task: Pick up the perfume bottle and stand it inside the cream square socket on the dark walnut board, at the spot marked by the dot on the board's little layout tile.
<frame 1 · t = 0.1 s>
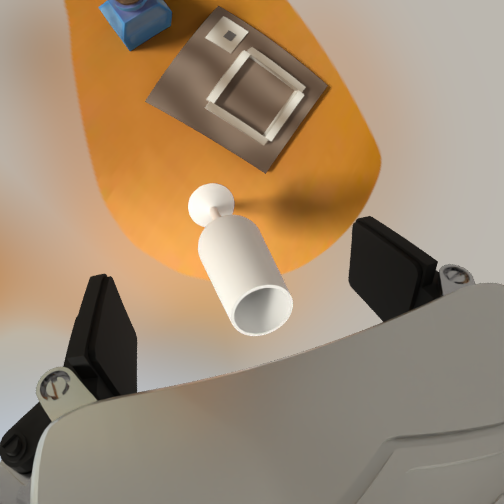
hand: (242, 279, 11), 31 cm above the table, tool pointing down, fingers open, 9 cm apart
champagne flute: (211, 205, 42), on the table
perfume bottle: (138, 23, 27), on the table
layout board: (239, 88, 35), on the table
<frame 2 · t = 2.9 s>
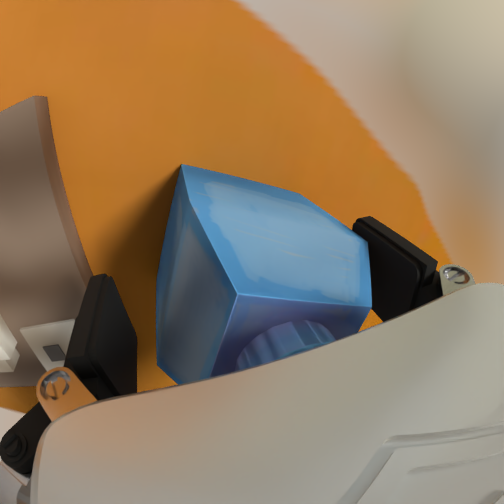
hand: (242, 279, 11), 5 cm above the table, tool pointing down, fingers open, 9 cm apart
perfume bottle: (225, 234, 15), on the table
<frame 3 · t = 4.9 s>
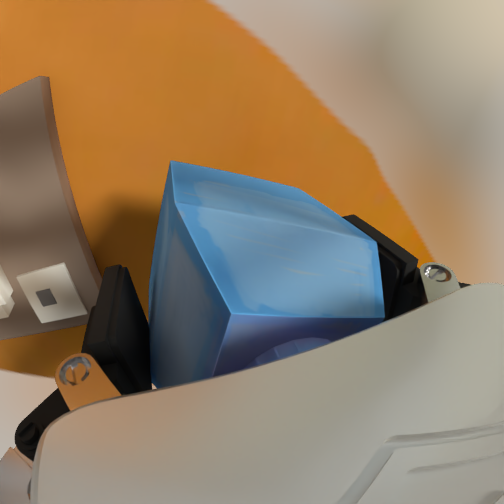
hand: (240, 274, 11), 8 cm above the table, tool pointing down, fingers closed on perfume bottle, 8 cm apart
perfume bottle: (221, 234, 14), point 5 cm above the table, touching gripper
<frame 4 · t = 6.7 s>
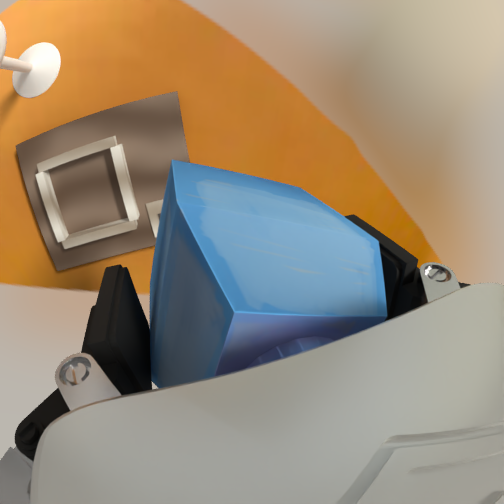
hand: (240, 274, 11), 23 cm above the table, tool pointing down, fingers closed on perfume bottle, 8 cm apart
champagne flute: (36, 69, 21), on the table
perfume bottle: (222, 234, 14), point 19 cm above the table, touching gripper
layout board: (107, 183, 29), on the table
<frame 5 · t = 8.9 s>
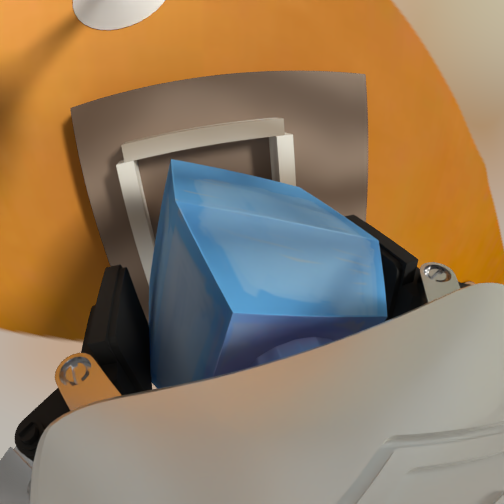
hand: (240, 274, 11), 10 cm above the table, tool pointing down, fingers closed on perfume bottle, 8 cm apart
perfume bottle: (221, 233, 14), point 6 cm above the table, touching gripper
layout board: (238, 193, 20), on the table
when the fingers open (7 cm above the table, at t = 10.3 s): perfume bottle stays where it is, resting on layout board.
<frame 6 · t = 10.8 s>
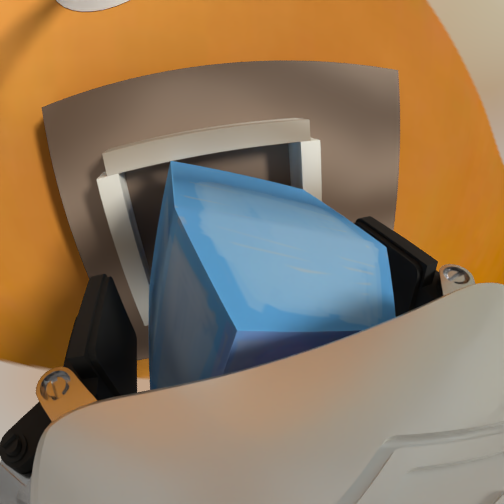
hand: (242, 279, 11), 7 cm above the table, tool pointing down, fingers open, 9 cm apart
perfume bottle: (223, 237, 14), point 3 cm above the table, touching layout board
layout board: (248, 209, 17), on the table
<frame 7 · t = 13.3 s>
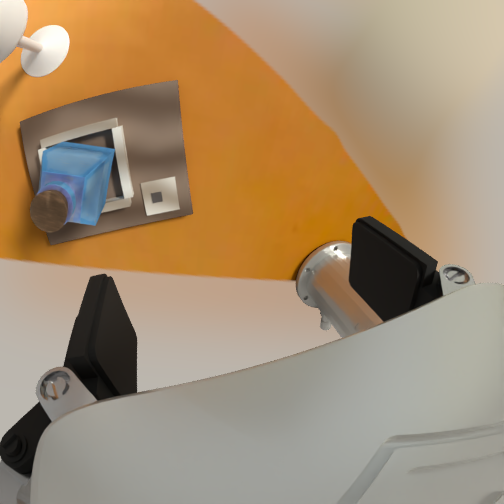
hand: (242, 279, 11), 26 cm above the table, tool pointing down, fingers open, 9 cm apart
champagne flute: (44, 50, 21), on the table
perfume bottle: (83, 172, 27), point 3 cm above the table, touching layout board
layout board: (104, 163, 30), on the table
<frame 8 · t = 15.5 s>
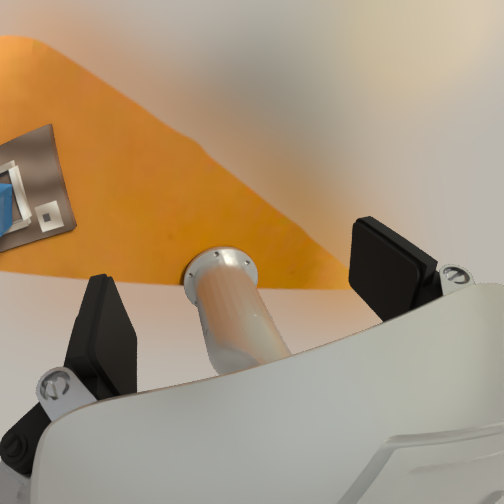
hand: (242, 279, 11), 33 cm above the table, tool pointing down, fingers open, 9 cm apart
layout board: (14, 193, 33), on the table
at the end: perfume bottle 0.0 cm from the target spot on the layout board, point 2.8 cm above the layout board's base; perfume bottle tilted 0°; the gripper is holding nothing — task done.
